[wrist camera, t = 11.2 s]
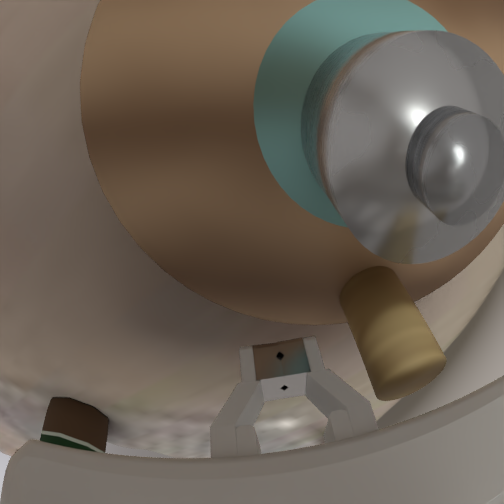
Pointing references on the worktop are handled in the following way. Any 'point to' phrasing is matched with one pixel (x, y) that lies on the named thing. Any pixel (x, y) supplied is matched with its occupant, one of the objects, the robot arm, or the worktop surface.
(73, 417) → the beer bottle
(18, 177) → the worktop surface
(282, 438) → the worktop surface
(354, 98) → the cover
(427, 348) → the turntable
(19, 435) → the worktop surface
